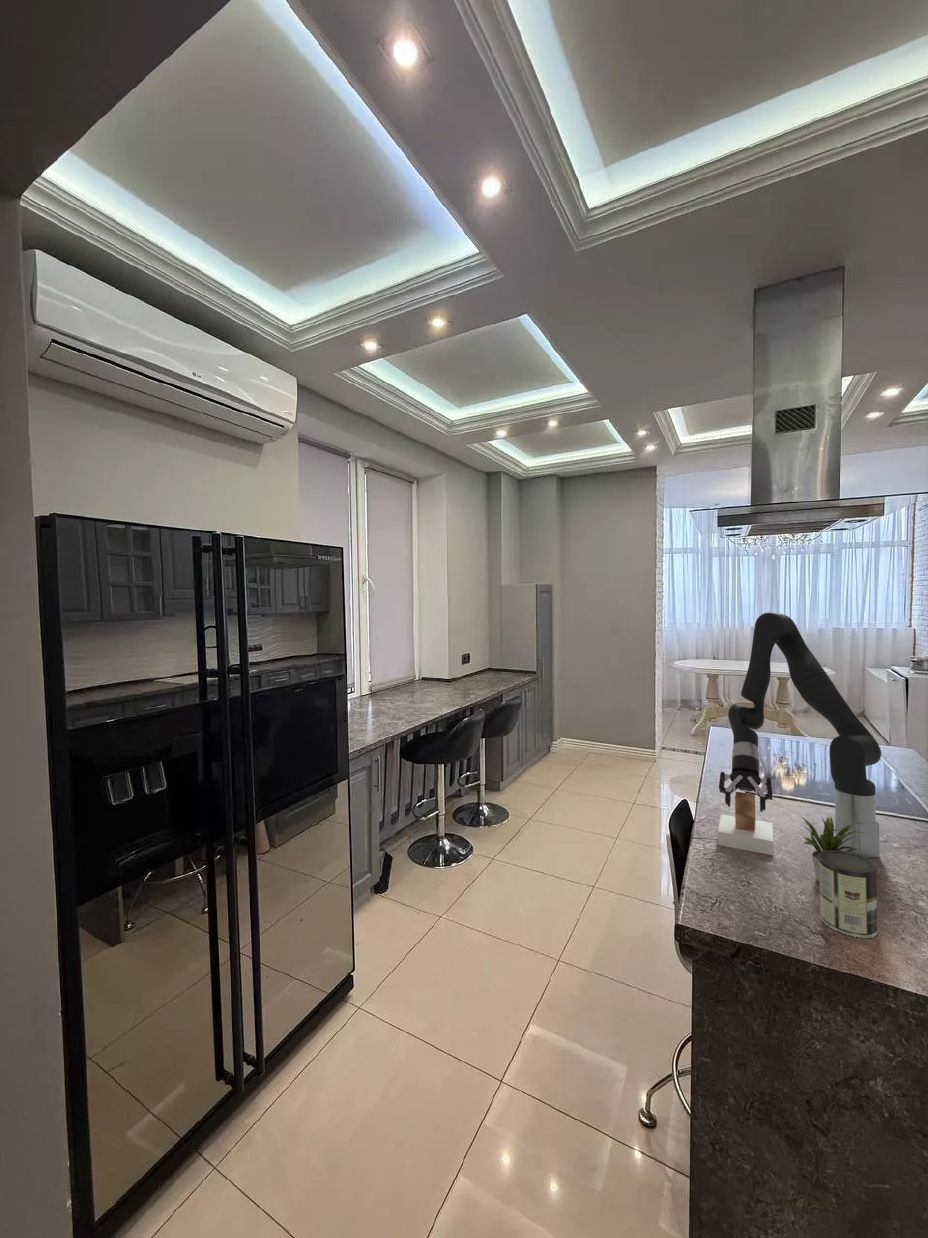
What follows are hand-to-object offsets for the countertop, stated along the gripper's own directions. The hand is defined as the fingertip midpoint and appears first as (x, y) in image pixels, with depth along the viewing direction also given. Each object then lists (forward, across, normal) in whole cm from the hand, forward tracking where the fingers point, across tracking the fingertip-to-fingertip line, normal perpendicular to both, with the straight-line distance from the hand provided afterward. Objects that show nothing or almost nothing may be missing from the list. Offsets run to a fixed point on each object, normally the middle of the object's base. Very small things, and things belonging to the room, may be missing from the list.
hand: (745, 808), depth 151 cm
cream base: (+6, 0, +8) cm, 10 cm away
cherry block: (+3, 0, +5) cm, 6 cm away
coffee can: (+31, +21, -16) cm, 41 cm away
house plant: (+18, +20, -4) cm, 27 cm away
